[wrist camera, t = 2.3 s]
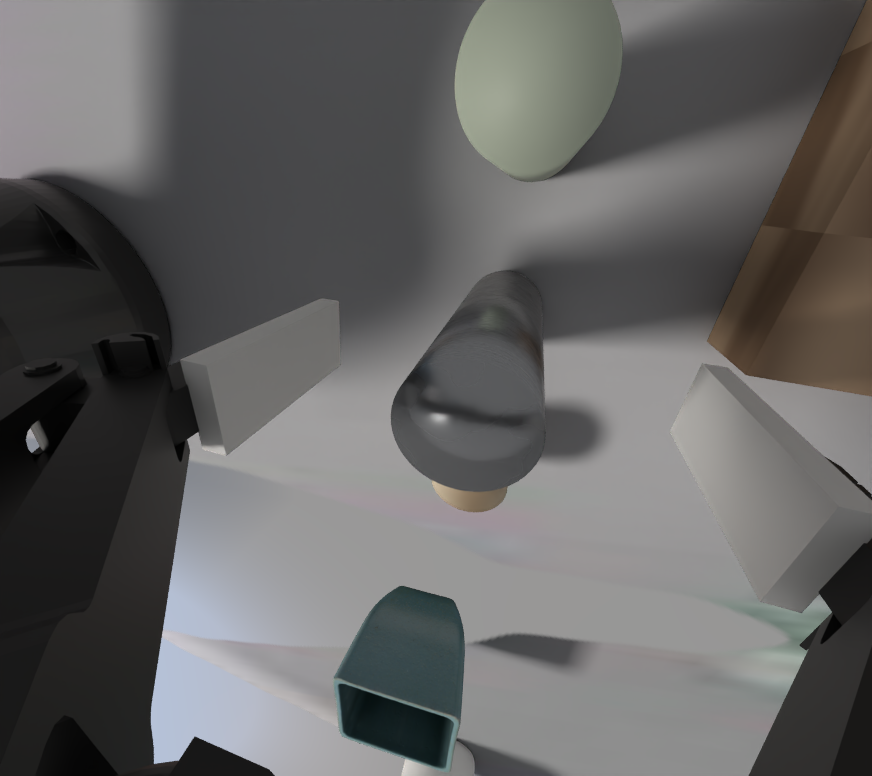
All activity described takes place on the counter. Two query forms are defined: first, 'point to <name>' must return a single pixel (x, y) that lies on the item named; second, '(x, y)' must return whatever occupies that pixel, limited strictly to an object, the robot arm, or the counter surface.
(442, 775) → the cup
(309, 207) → the counter surface
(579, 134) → the medium pin
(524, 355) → the long pin
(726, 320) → the hole board
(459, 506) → the short pin
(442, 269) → the counter surface
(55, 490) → the robot arm
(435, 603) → the flower pot
